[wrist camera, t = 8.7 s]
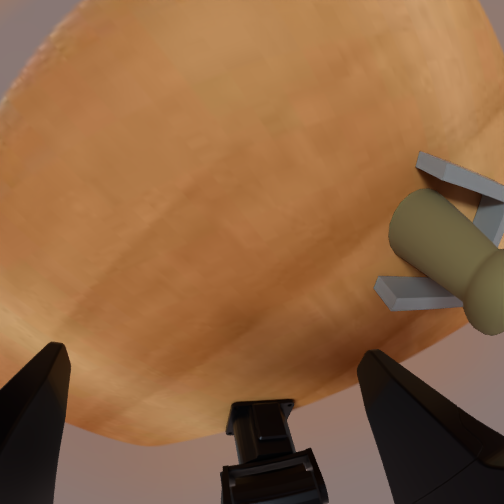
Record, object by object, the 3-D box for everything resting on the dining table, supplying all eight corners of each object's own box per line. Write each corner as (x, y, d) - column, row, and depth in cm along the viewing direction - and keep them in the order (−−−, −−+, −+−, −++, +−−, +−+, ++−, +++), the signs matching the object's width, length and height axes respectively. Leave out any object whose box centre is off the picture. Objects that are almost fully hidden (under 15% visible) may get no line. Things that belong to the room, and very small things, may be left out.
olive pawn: (447, 180, 20) (556, 249, 11) (445, 245, 23) (530, 324, 14) (386, 199, 20) (498, 289, 11) (389, 268, 23) (471, 366, 14)
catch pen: (451, 288, 26) (469, 306, 24) (373, 288, 24) (391, 311, 21) (494, 180, 21) (517, 193, 18) (419, 150, 19) (447, 162, 16)
